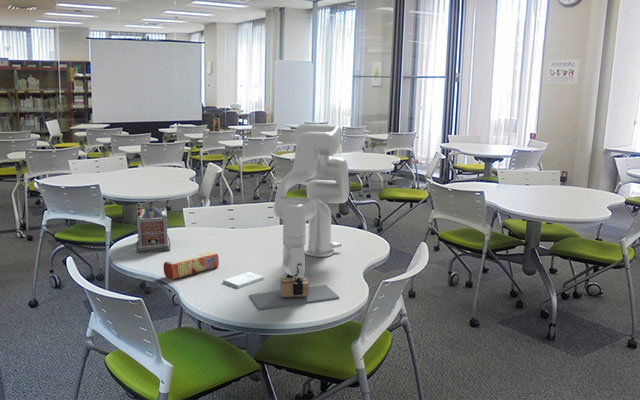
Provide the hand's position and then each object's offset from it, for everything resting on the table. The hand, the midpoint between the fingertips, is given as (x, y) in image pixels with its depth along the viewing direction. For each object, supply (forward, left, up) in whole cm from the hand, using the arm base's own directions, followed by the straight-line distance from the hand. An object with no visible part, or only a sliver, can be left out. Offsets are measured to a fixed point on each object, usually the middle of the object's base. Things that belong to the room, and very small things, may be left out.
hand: (294, 290), depth 186 cm
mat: (0, 0, -3) cm, 3 cm away
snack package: (+28, -37, -3) cm, 47 cm away
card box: (0, 0, -1) cm, 1 cm away
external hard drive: (+12, -21, -3) cm, 25 cm away
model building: (+39, -76, -3) cm, 85 cm away
